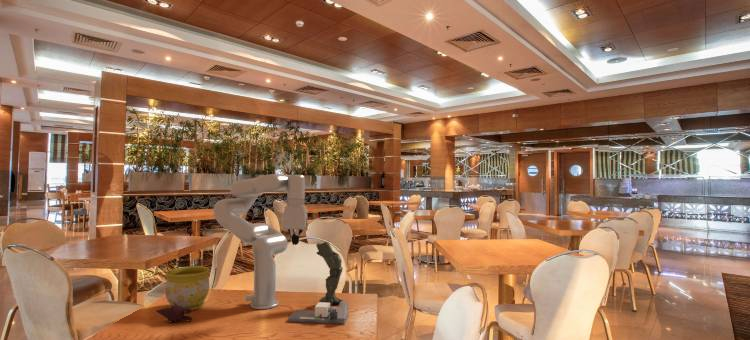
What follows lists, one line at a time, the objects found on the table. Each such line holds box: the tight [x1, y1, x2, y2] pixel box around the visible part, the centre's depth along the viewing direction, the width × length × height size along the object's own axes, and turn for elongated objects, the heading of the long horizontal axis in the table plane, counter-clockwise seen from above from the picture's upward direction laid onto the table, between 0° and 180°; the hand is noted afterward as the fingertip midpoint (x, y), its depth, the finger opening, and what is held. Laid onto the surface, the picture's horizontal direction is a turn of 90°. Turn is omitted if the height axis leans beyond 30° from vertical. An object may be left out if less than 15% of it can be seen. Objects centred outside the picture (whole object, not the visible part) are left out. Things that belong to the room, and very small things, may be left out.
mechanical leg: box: [315, 240, 344, 307], centre depth 180 cm, size 14×7×30 cm, turn 84°
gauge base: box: [287, 300, 350, 325], centre depth 160 cm, size 23×10×6 cm, turn 84°
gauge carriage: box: [314, 301, 337, 317], centre depth 159 cm, size 8×8×4 cm
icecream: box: [156, 304, 193, 323], centre depth 156 cm, size 7×7×15 cm
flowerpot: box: [164, 265, 211, 311], centre depth 173 cm, size 18×18×16 cm
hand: (295, 244), depth 170 cm, fingers closed
